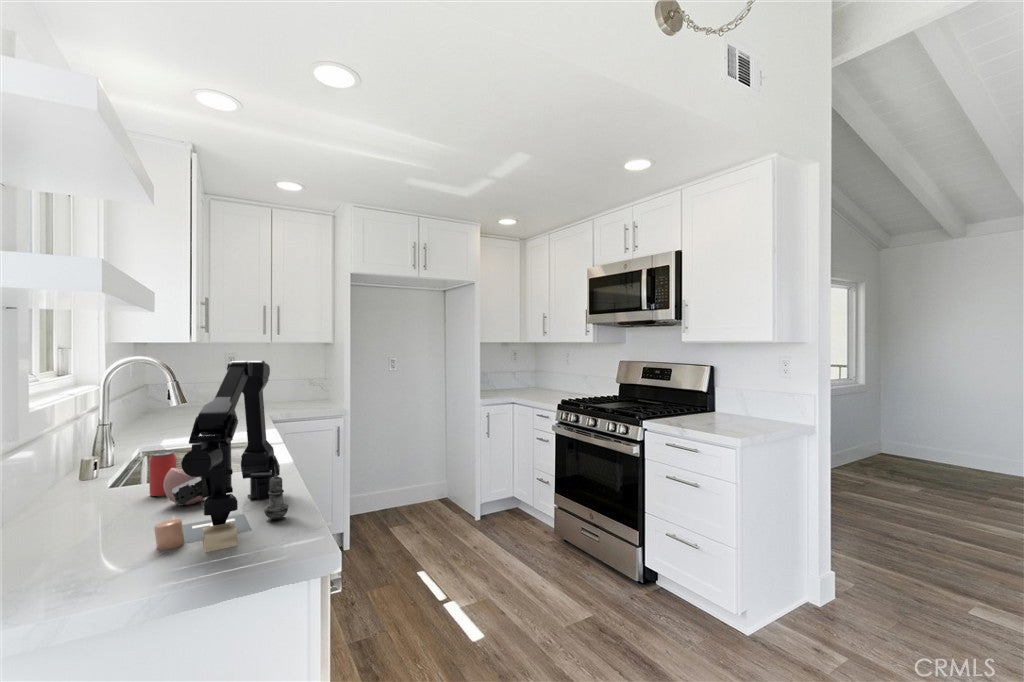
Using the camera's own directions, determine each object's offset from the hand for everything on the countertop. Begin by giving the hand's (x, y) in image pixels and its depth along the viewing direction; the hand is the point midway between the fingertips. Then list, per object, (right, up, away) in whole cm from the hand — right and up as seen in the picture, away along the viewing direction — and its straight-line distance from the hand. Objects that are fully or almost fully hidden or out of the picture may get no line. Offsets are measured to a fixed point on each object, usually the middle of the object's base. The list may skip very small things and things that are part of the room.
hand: (217, 533), depth 116 cm
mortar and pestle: (-22, -1, +25) cm, 33 cm away
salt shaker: (+8, -1, +11) cm, 14 cm away
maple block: (+3, -2, -4) cm, 5 cm away
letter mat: (-4, -1, +6) cm, 7 cm away
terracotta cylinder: (-8, -1, -4) cm, 9 cm away
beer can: (-35, -1, +34) cm, 49 cm away
